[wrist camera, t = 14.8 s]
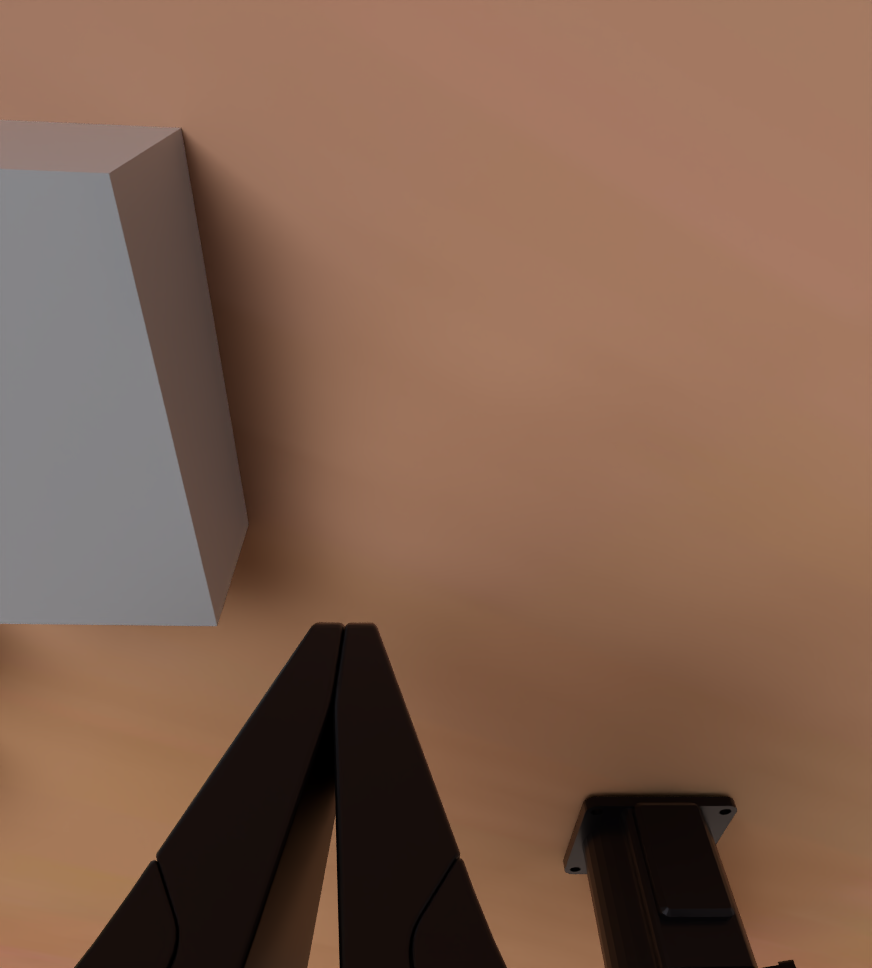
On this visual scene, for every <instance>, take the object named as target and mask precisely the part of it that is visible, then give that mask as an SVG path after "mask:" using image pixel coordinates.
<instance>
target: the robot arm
mask: <svg viewBox="0 0 872 968" xmlns="http://www.w3.org/2000/svg"><path fill="white" fill-rule="evenodd" d="M736 812H737V808H736V805H735V803H734V800H733V799H732V798H730V797H591V798H588V799H587V800H585V801H584V803H583V806H582V808H581V811H580V814H579V817H578V820H577V823H576V826H575V829H574V831H573V834H572V837H571V840H570V843H569V846H568V849H567V851H566V854H565V857H564V860H563V862H564V868H565V872H566V873H569V874H587V875H588V880H589V885H590V890H591V896H592V901H593V906H594V912H595V917H596V922H597V928H598V933H599V938H600V944H601V949H602V954H603V960H604V965H605V968H758V966H757V964H756V961H755V958H754V955H753V952H752V949H751V946H750V943H749V940H748V937H747V934H746V931H745V929H744V926H743V923H742V920H741V917H740V914H739V911H738V908H737V905H736V902H735V899H734V897H733V894H732V891H731V888H730V885H729V882H728V879H727V876H726V873H725V870H724V867H723V864H722V862H721V859H720V856H719V853H718V850H717V847H716V843H717V842H718V840H719V839H720V837H721V836H722V834H723V833H724V831H725V829H726V828H727V826H728V825H729V823H730V822H731V820H732V818H733V817H734V815H735V814H736ZM335 814H336V847H337V884H338V922H339V959H340V968H507V967H506V965H505V962H504V960H503V958H502V956H501V954H500V952H499V950H498V947H497V945H496V943H495V941H494V939H493V936H492V934H491V931H490V929H489V926H488V924H487V921H486V919H485V916H484V914H483V911H482V909H481V906H480V904H479V901H478V899H477V896H476V894H475V891H474V889H473V886H472V883H471V881H470V878H469V875H468V872H467V870H466V867H465V864H464V862H463V860H462V859H460V852H459V849H458V846H457V843H456V841H455V838H454V835H453V832H452V830H451V827H450V824H449V822H448V819H447V816H446V813H445V811H444V808H443V805H442V802H441V800H440V797H439V794H438V792H437V789H436V786H435V783H434V781H433V778H432V775H431V772H430V770H429V767H428V764H427V762H426V759H425V756H424V753H423V751H422V748H421V745H420V742H419V740H418V737H417V734H416V732H415V729H414V726H413V723H412V721H411V718H410V715H409V712H408V710H407V707H406V704H405V702H404V699H403V696H402V693H401V691H400V688H399V685H398V683H397V680H396V677H395V674H394V672H393V669H392V666H391V663H390V661H389V658H388V655H387V653H386V650H385V647H384V644H383V642H382V639H381V636H380V633H379V631H378V628H377V626H376V625H375V624H373V623H348V624H347V625H346V626H344V625H343V624H342V623H323V622H319V623H316V624H314V625H313V626H312V627H311V628H310V629H309V631H308V632H307V634H306V635H305V637H304V638H303V640H302V641H301V643H300V644H299V645H298V647H297V648H296V650H295V651H294V653H293V654H292V656H291V657H290V659H289V660H288V662H287V663H286V665H285V666H284V667H283V669H282V670H281V672H280V673H279V675H278V676H277V678H276V679H275V681H274V682H273V684H272V685H271V687H270V688H269V689H268V691H267V692H266V694H265V695H264V697H263V698H262V700H261V701H260V703H259V704H258V706H257V707H256V709H255V710H254V711H253V713H252V714H251V716H250V717H249V719H248V720H247V722H246V723H245V725H244V726H243V728H242V729H241V731H240V732H239V733H238V735H237V736H236V738H235V739H234V741H233V742H232V744H231V745H230V747H229V748H228V750H227V751H226V753H225V754H224V755H223V757H222V758H221V760H220V761H219V763H218V764H217V766H216V767H215V769H214V770H213V772H212V773H211V775H210V776H209V777H208V779H207V780H206V782H205V783H204V785H203V786H202V788H201V789H200V791H199V792H198V794H197V795H196V797H195V798H194V799H193V801H192V802H191V804H190V805H189V807H188V808H187V810H186V811H185V813H184V814H183V816H182V817H181V819H180V820H179V821H178V823H177V824H176V826H175V827H174V829H173V830H172V832H171V833H170V835H169V836H168V838H167V839H166V841H165V842H164V843H163V845H162V846H161V848H160V849H159V851H158V852H157V854H156V858H157V861H156V860H153V861H151V862H150V863H149V865H148V866H147V868H146V869H145V871H144V872H143V874H142V875H141V877H140V878H139V880H138V881H137V883H136V884H135V886H134V887H133V888H132V890H131V891H130V893H129V894H128V896H127V897H126V898H125V900H124V901H123V903H122V904H121V905H120V907H119V908H118V910H117V911H116V912H115V914H114V915H113V917H112V918H111V919H110V921H109V922H108V924H107V925H106V926H105V928H104V929H103V930H102V932H101V933H100V935H99V936H98V937H97V939H96V940H95V942H94V943H93V944H92V946H91V947H90V948H89V949H88V951H87V952H86V953H85V954H84V956H83V957H82V958H81V960H80V961H79V962H78V963H77V965H76V966H75V967H74V968H307V966H308V960H309V955H310V950H311V944H312V939H313V933H314V928H315V922H316V917H317V912H318V906H319V901H320V895H321V890H322V884H323V879H324V873H325V868H326V863H327V857H328V852H329V846H330V841H331V835H332V830H333V825H334V819H335ZM778 963H779V965H776V966H770V967H764V968H796V966H795V964H794V961H793V960H788V961H782V962H778Z"/></svg>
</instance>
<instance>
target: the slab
mask: <svg viewBox="0 0 872 968" xmlns="http://www.w3.org/2000/svg"><path fill="white" fill-rule="evenodd" d="M248 525H249V523H248V517H247V511H246V506H245V500H244V494H243V488H242V482H241V476H240V470H239V464H238V459H237V453H236V447H235V441H234V435H233V429H232V423H231V418H230V412H229V406H228V400H227V394H226V388H225V382H224V376H223V371H222V365H221V359H220V353H219V347H218V341H217V335H216V329H215V324H214V318H213V312H212V306H211V300H210V294H209V288H208V282H207V277H206V271H205V265H204V259H203V253H202V247H201V241H200V235H199V230H198V224H197V218H196V212H195V206H194V200H193V194H192V189H191V183H190V177H189V171H188V165H187V159H186V153H185V147H184V142H183V136H182V130H181V128H173V127H150V126H127V125H105V124H82V123H59V122H36V121H13V120H0V624H80V625H166V626H217V625H218V622H219V619H220V615H221V612H222V609H223V606H224V602H225V599H226V596H227V593H228V590H229V586H230V583H231V580H232V577H233V574H234V570H235V567H236V564H237V561H238V557H239V554H240V551H241V548H242V545H243V541H244V538H245V535H246V532H247V528H248Z"/></svg>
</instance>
